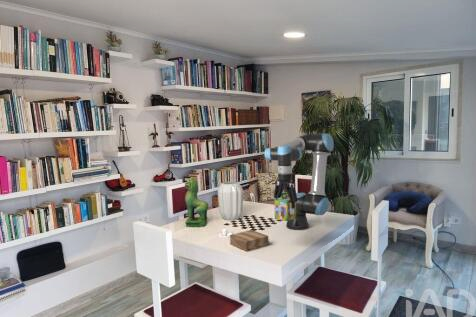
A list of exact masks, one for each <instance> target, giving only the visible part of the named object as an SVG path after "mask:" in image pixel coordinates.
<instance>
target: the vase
mask: <svg viewBox="0 0 476 317" xmlns="http://www.w3.org/2000/svg"><path fill="white" fill-rule="evenodd" d="M217 199H218V200H217V201H218V203H217V204H218V210H219V211H218V212H219V214H220V215H221V218H222V219H224V220H225V221H235V220H238V219H239V218H240V217H241V215H242V213H243V205H244V204H243V203H244V189H243V187H242V185H241V184H240V182H237V181H226V182H225V181H224V182H221V183H220V186H219V187H218V188H217Z"/></svg>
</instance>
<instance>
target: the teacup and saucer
mask: <svg viewBox="0 0 476 317" xmlns="http://www.w3.org/2000/svg"><path fill="white" fill-rule="evenodd" d="M232 234H233V232H228V228H227V229H226V228H222V229H221V231H220V233H219V234H218V237H220V238H224V237H225V238H230V235H232Z"/></svg>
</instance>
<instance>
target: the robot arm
mask: <svg viewBox="0 0 476 317" xmlns="http://www.w3.org/2000/svg"><path fill="white" fill-rule="evenodd" d="M334 143H335V142H334V138H333V136H332V135H331V134H330V133H323V132H322V133H306V134H302V135H299V136H297V137H295V138H293V139H292V140H291V141H288V142H286V143H283V144H280V145H278V146H274V147H267V148H266V149H265V150H264V158H265V160H268V161H277V173H278V174H277V180H278V181H275V182H274V183H275V186H274V192H273V198H274V199H277V198H281V197H282V195H281V194H282V193H284V191H285V192H286V194H287V197H288V198H289V199H290V201H291V202H290V214H294V208H295V202H296V218H295V219H292V220H290V221H286V225H285V226H286V228H288V229H290V230H295V231H300V230H307V229H309V228H308V227H310V226H309V225H310V224H309V222H308V217H307V214H308V215H315V216H324V215H325V214H326V213H327V211H328V209H329V204H330V202H329V198H327V195H326V193H325V185H326V184H325V183H326V172H327V171H326V170H327V160H328V156H330V153H331V152H333V150H334V145H335V144H334ZM302 151H308V152H309V151H310V152H311V154H312V155H313V160H312V162H313V163H312V172H311V182H310V183H311V184H310V191H309V192H308V193H307V194H306V193H305V192H297V191H296V183H292V182H291V181H292V180H293V177H292V176H293V175H292V172H293V171H292V162H297V161H299V160H300V159H301V158H302V157H303V152H302Z"/></svg>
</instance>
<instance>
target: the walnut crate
mask: <svg viewBox="0 0 476 317" xmlns="http://www.w3.org/2000/svg"><path fill="white" fill-rule="evenodd" d="M229 245H231V246H232V247H235V248H237V249H239V250H242V251H243V250H244V251H243V252H246V253H248V252H251V251H255V250H258V249H261V248H265V247H269V246H270V243H269V235H267V234H264V233H261V232H259V231H256V230H252V229H249V230H246V231H240V232H236V233H234V234H232V235H230V236H229Z"/></svg>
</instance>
